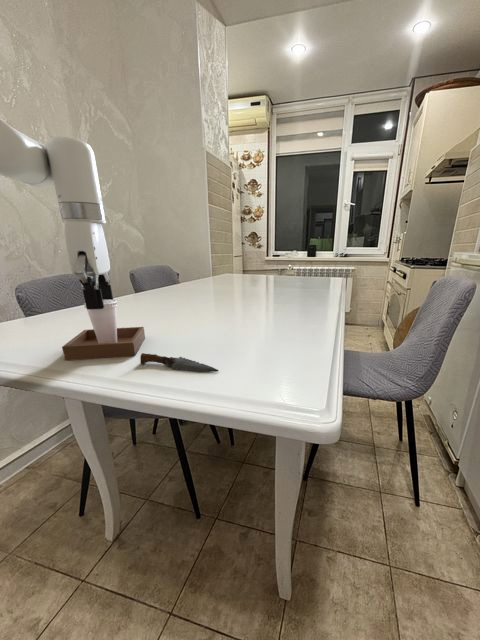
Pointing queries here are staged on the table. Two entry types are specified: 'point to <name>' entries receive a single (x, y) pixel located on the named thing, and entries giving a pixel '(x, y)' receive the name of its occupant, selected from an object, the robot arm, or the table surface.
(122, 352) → the tray
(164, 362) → the knife
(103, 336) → the smoothie
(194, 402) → the table surface
